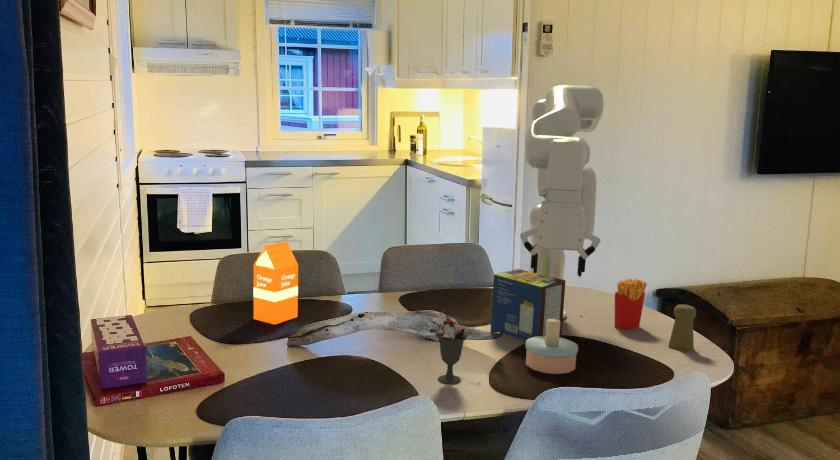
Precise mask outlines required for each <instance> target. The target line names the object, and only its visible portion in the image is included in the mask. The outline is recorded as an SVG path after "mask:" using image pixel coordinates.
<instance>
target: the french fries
mask: <svg viewBox="0 0 840 460" xmlns="http://www.w3.org/2000/svg"><path fill="white" fill-rule="evenodd" d="M616 285H617V291H616V292H614V328H616V329H618V330H625V331H626V330H635V329H639V328H640V324H641V318H642V313H643V307H644V302H645V298H646V296H645V295H646V292H645V291H646V287H647V285H648V284H647V282H646V281H643V280H642V279H637V278H635V279H633V278H626V279H625V280H619V282H617V283H616Z"/></svg>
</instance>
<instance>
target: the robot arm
mask: <svg viewBox="0 0 840 460" xmlns="http://www.w3.org/2000/svg"><path fill="white" fill-rule="evenodd" d="M604 103H605V102H604V95H603V93H602V91H601V90H600V89H599V88H598V87H596V86H591V85H568V84H567V85H566V84H564V85H556V86H553V87H552V88H551V89H549V91H547V93H546V94H545V97H544V99H540V100H537V101H536V102H535V103H534V104H533V107H532V112H531V113H532V114H531V115H532V123H531V124H530V126H529V127H528V130H527V132H526V136H525V146H524V147H525V150H524V157H525V161H526V164H527V165H528V166H529V167H531V168H532V169H535V170H536V169H537V193H538V197H543V198H544V200H542V201H541V203H540V204H537V205H534V207H533V208H532V209H531V211H530V213H529V225H530V226H529V227H530V229H527V230H525V231H523V232H521V233H519V238H520V239H521V242H522V244H523V246H524V248H525V249H526V250H527V251H528V252H529V253H530V258H529V260H530V261H529V271H528V272H533V273H537V274H541V275H545V276H549V277H554V278H558V279H563V280H564V279H565V278H564V275H565V266H566V265H565V263H566V255H565V251H577V253H578V254H579V256H578V261H577V272H576V273H577V277H580V278H581V277H582V273H585V271H586V262H587V261H586V259H588V257H589V256H591V254H593V253H595V251H596V249H597V248H598V247H599V244H600V243H601V238H599V236H596V235H594V230H595V220H596V219H595V218H596V201H597V175H596V172H595V170H594V169H593V168H592V167H590V166H587V164H589V162H590V157H591V148H590V147H591V146H590V145H588V141H587V140H586V139H584V138H582V137H578V136H575V135H576V134H577V132H578V133H590V132H593V131H594V130H596V129H597V127H598V124H599V122H600V120H601V118H602V117H603V113H604V105H605V104H604ZM529 237H530V241H529V239H528V238H529ZM585 240H586V241H587V240H589V241H591V244H590V246H588V247H587V248H586V249H585V248H584V242H585ZM566 317H567V311H566V310H565V309H563V319H565V318H566Z"/></svg>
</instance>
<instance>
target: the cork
mask: <svg viewBox="0 0 840 460" xmlns="http://www.w3.org/2000/svg"><path fill="white" fill-rule="evenodd" d="M673 316H674V317H675V319H674V323H673V326H672V330H671V333H670V338H669V342H668V349H671V350H673V351H678V352H681V353H691V352H694V351H695V350H694V349H695V348H694V346H695V345H694V344H695V343H694V319H695V318H696V316H697V309H696V308H695V307H694V306H692V305H688V304H677V305H676V306H675V307H674V308H673Z"/></svg>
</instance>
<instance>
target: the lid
mask: <svg viewBox="0 0 840 460" xmlns="http://www.w3.org/2000/svg"><path fill="white" fill-rule="evenodd" d="M559 333H560V321H559V320H557V319H548V320H547V324H546V336H537V337H532V338H529V339H527V340H525V346H524V347H525V349H526V351H527V350H528V351H530V352H532V353H534V354H537V355H540V356H545V357H552V358H566V357H571V356H574V355H576V356H577V354H578V353H579V345H578V344H577V343H576V342H574V341H572V340H569V339H567V338H563V337H559Z"/></svg>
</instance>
